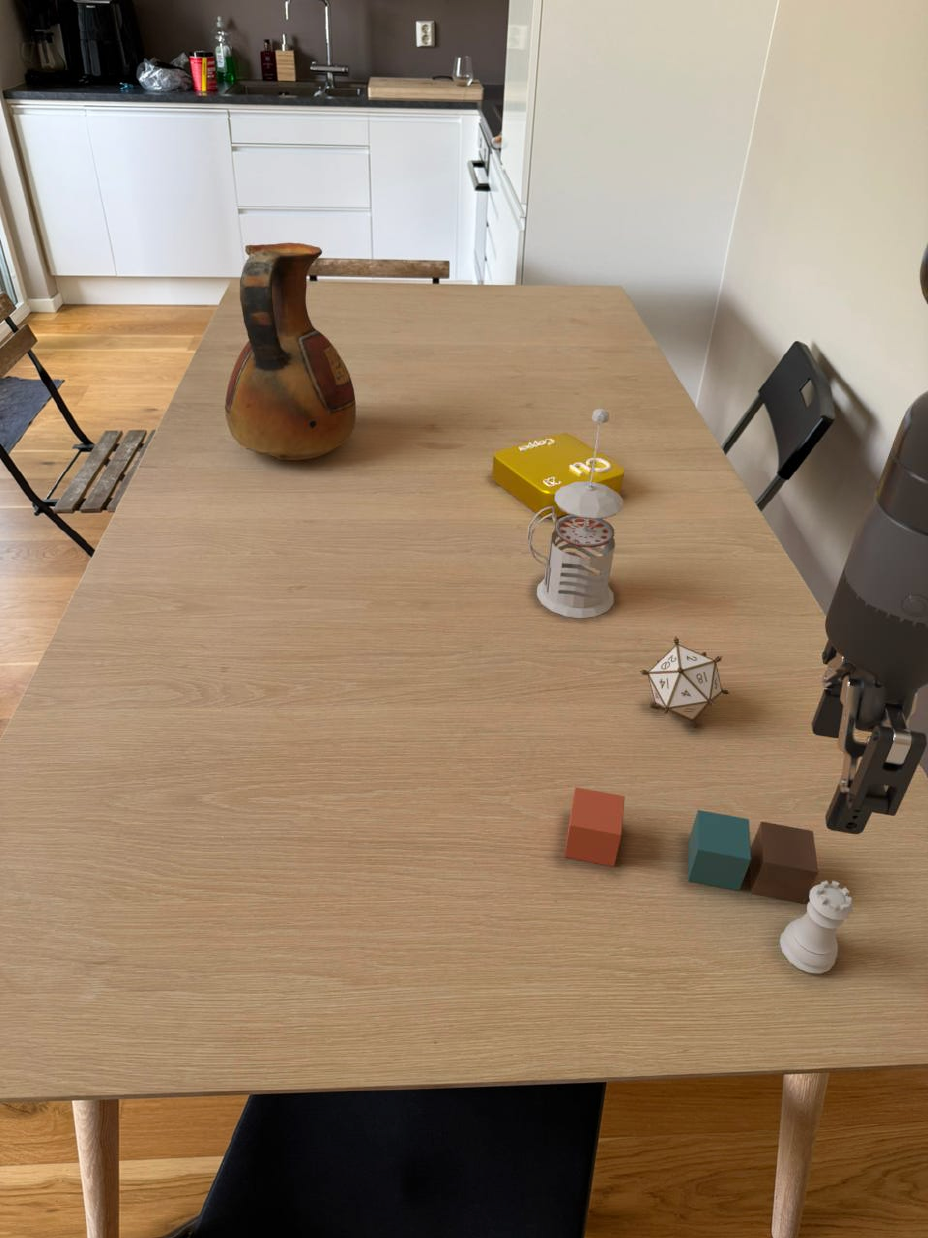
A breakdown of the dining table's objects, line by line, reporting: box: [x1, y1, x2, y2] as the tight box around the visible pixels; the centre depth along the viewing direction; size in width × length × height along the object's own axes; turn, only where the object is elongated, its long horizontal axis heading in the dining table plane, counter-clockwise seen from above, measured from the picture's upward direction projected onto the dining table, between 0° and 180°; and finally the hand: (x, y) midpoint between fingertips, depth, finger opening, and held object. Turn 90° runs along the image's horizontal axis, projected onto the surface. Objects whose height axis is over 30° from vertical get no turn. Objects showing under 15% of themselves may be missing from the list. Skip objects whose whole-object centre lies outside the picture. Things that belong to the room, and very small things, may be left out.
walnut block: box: [749, 821, 819, 904], centre depth 78 cm, size 4×4×4 cm
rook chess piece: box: [779, 880, 854, 974], centre depth 71 cm, size 4×4×8 cm
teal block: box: [687, 809, 752, 892], centre depth 79 cm, size 4×4×4 cm
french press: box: [526, 408, 624, 619], centre depth 104 cm, size 10×12×25 cm
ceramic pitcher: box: [224, 242, 357, 461], centre depth 132 cm, size 20×20×30 cm
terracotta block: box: [564, 787, 626, 868], centre depth 80 cm, size 4×4×4 cm
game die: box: [639, 636, 731, 729], centre depth 94 cm, size 9×8×10 cm
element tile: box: [491, 432, 625, 519], centre depth 132 cm, size 15×15×5 cm
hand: (833, 777), depth 59 cm, fingers open, 8 cm apart
